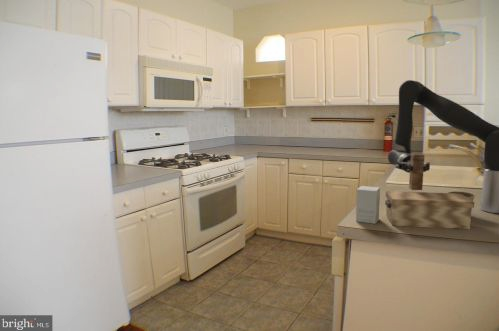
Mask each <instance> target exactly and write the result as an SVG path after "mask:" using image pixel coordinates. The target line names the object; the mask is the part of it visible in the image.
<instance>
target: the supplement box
mask: <svg viewBox="0 0 499 331" xmlns="http://www.w3.org/2000/svg"><path fill="white" fill-rule="evenodd" d="M380 195H381V187H379V186H367V185H361V186H359V187H358V188H357V189H356V204H355V205H356V207H355V211H356V212H355V214H356V215H355V221H356V222H357V223H365V224H374V225H375V224H377V222H378V221H379V220H378V219H380V204H381V203H380V198H381V196H380Z"/></svg>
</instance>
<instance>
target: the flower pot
mask: <svg viewBox="0 0 499 331" xmlns="http://www.w3.org/2000/svg"><path fill="white" fill-rule="evenodd" d="M447 193H458V194H462V195H463V196H465V197H467V198H468V199H470V200H472V201H473V202H474V201H475V200H474V199H475V198H476V194H474V193H471V192H467V191H466V192H465V191H458V190H457V191H448V192H447Z"/></svg>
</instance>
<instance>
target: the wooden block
mask: <svg viewBox="0 0 499 331" xmlns="http://www.w3.org/2000/svg"><path fill="white" fill-rule="evenodd" d="M425 157H426V156H425V154H424V153H411V162H410V165H412V166H413V167H414V168H413V172H411V171H410V173H409V180H408V182H409V183H408V188H409V189H410V190H411V191H423V187H424V186H423V184H424V183H423V182H424V172H423V168H424V164H425Z"/></svg>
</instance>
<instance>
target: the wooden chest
mask: <svg viewBox="0 0 499 331" xmlns="http://www.w3.org/2000/svg"><path fill="white" fill-rule="evenodd" d="M385 198H386V199H385V203H384V205H385V207H386V212H385V216H387V217H386V218H387V219H388V222H389V224H390V225H391V224H392V225H391V226H393V225H396V226H397V227H413V228H414V227H417V228H418V227H419V228H433V229H434V228H435V229H438V228H439V229H453V228H459V230H471V220H472V219H471V218H472V212H473V211H472V210H473V208H475V201H474V200H473V201H472V200H470V199H468V198H467V197H465V196H463V195H462V194H458V193H448V192H425V191H423V192H422V191H397V190H396V191H395V190H394V191H393V190H391V191H390V190H385ZM396 226H395V227H396Z"/></svg>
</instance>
